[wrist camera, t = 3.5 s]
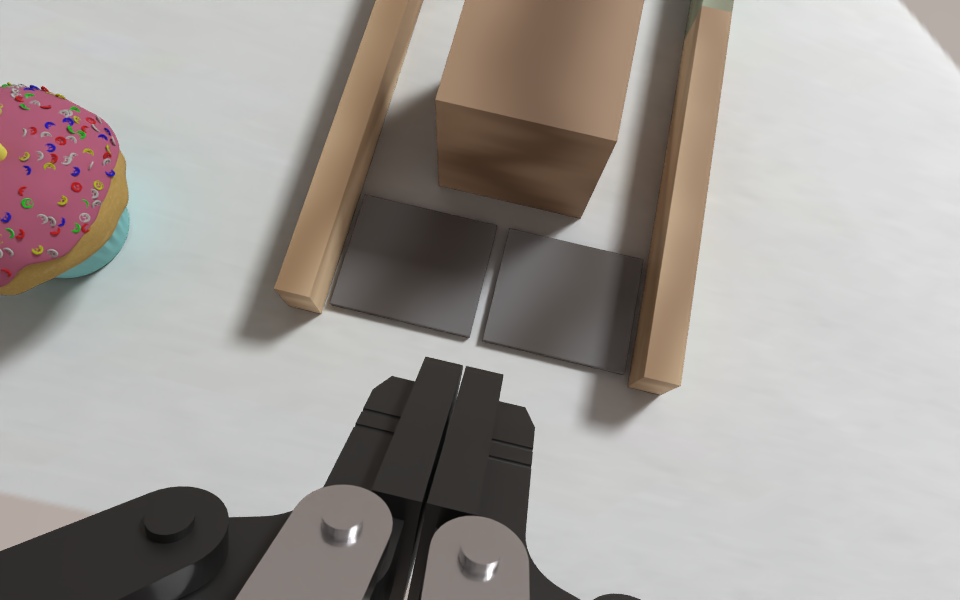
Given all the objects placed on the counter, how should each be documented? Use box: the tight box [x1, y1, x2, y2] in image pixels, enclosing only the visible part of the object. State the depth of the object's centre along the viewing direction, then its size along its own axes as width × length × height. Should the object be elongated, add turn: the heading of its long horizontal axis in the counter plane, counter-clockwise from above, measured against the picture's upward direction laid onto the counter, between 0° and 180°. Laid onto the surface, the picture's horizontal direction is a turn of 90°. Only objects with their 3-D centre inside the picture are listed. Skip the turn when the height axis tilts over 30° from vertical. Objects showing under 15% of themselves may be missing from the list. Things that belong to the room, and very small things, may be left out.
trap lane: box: [274, 0, 734, 395], centre depth 31 cm, size 17×30×2 cm, turn 167°
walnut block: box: [435, 0, 644, 219], centre depth 28 cm, size 7×7×7 cm
